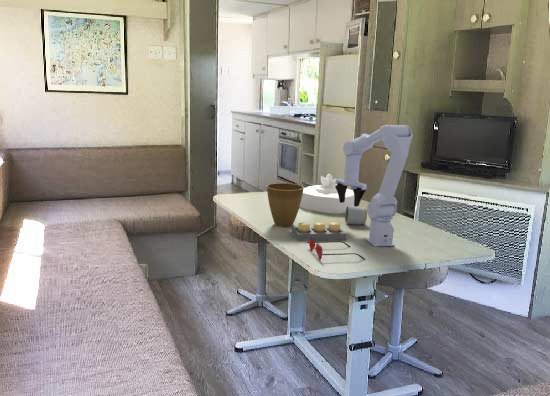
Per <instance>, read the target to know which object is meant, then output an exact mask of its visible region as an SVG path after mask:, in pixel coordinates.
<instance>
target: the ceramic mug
mask: <svg viewBox="0 0 550 396" xmlns="http://www.w3.org/2000/svg"><path fill="white" fill-rule="evenodd" d="M367 218H368V213H367V208H364V207H360V206H356V207H353V206H347V208H346V212H345V213H344V223H345V225H356V226H359V225H363V226H364V224H366V222H367Z"/></svg>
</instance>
